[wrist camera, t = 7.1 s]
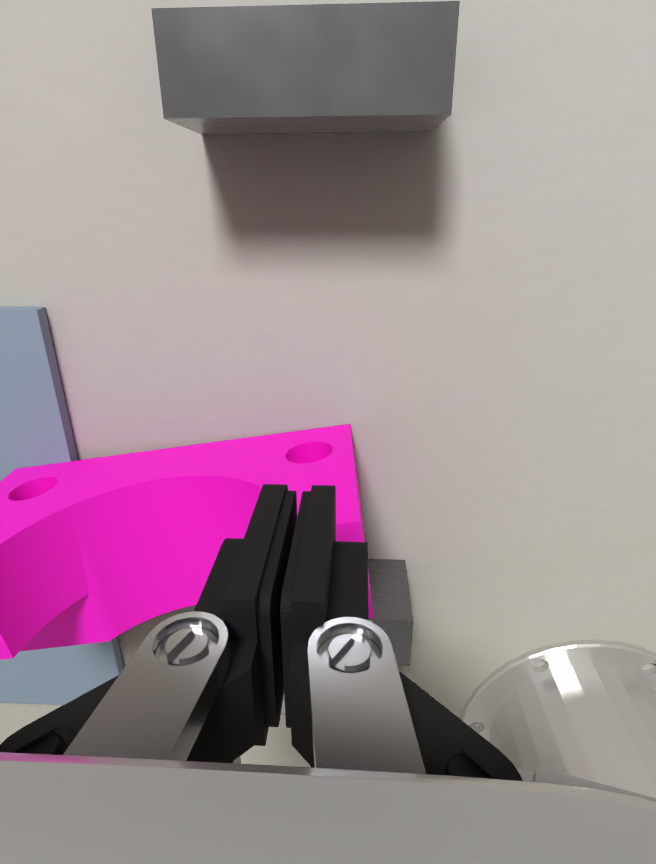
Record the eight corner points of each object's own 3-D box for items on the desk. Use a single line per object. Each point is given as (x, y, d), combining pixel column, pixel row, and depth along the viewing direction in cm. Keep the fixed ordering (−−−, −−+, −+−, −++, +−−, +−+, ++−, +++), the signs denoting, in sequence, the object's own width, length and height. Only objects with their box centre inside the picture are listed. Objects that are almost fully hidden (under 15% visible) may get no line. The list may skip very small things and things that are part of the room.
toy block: (63, 580, 26) (-32, 717, 19) (15, 468, 24) (-114, 579, 17) (366, 543, 25) (381, 672, 18) (350, 424, 23) (359, 521, 16)
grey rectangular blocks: (437, 43, 17) (459, 1, 14) (397, 681, 29) (403, 751, 25) (193, 48, 18) (151, 8, 14) (250, 676, 29) (235, 745, 25)
